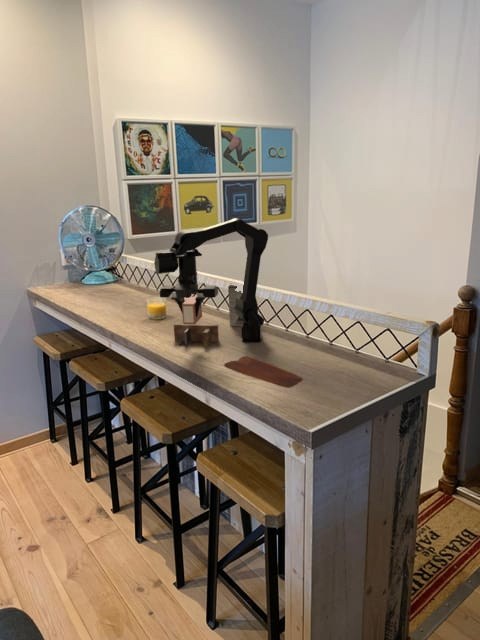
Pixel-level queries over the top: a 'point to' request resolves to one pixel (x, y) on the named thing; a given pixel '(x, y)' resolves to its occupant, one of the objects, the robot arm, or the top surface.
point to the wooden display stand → (197, 332)
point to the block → (190, 311)
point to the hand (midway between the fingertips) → (190, 316)
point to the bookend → (186, 338)
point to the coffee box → (234, 318)
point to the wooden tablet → (264, 371)
